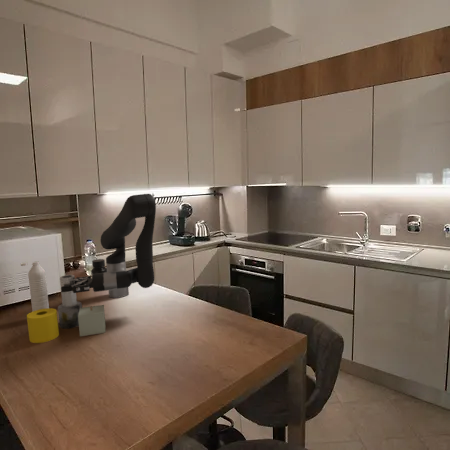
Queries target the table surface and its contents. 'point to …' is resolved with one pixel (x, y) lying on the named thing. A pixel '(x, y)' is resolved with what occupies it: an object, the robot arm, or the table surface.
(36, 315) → the yellow toilet paper roll
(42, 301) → the water bottle
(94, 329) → the sage stand
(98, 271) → the ink bottle
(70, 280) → the sleeve
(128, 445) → the table surface
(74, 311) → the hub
